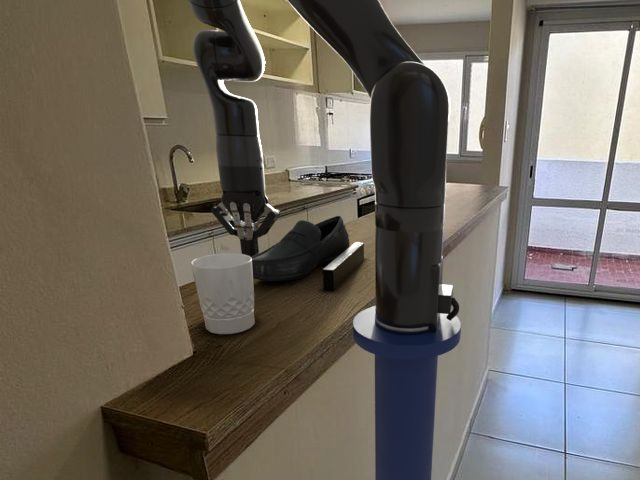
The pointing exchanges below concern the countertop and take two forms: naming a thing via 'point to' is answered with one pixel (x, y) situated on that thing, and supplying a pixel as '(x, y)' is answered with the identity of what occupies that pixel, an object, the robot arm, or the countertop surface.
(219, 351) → the countertop surface
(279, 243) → the loafer
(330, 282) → the shoe rail
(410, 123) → the robot arm
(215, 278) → the white cup
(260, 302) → the countertop surface
